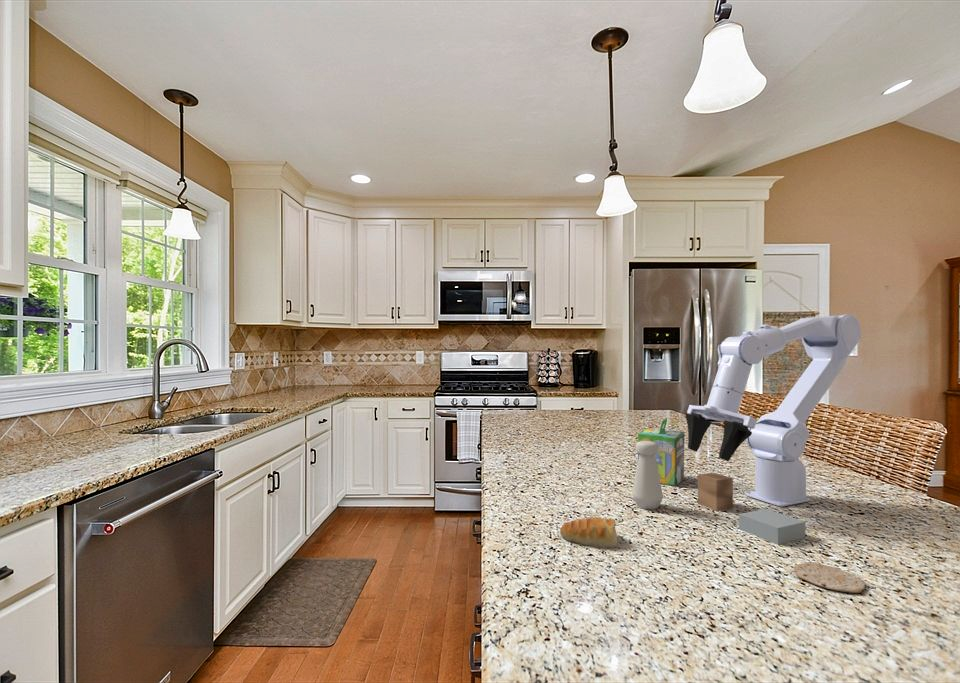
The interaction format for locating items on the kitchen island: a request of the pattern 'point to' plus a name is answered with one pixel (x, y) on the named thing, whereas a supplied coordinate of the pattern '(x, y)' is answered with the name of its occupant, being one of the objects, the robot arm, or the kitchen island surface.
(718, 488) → the walnut block
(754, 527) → the base slab
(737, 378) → the robot arm
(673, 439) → the chalk box
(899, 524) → the kitchen island surface
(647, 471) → the salt shaker
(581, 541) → the pastry
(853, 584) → the flatbread
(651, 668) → the kitchen island surface
